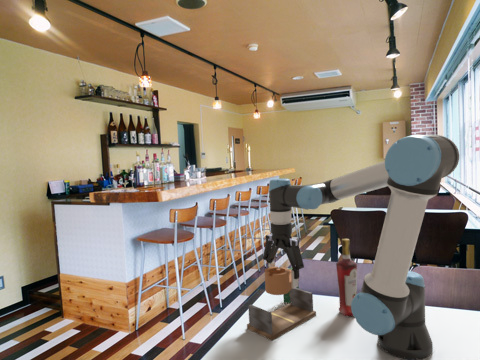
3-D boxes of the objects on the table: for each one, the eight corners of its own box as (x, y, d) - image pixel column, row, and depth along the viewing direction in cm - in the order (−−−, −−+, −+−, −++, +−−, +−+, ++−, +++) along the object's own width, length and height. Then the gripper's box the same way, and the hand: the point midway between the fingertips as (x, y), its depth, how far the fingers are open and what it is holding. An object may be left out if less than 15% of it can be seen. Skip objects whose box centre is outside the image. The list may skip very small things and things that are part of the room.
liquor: (347, 307, 135) (344, 236, 133) (363, 314, 129) (360, 239, 127) (334, 312, 131) (330, 239, 130) (349, 320, 125) (346, 243, 123)
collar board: (316, 315, 130) (315, 293, 130) (271, 340, 114) (270, 315, 114) (291, 306, 139) (290, 285, 139) (247, 328, 123) (245, 305, 123)
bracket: (284, 296, 115) (283, 276, 114) (261, 292, 119) (260, 272, 118) (301, 278, 131) (301, 260, 130) (280, 275, 135) (280, 257, 134)
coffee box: (294, 295, 149) (292, 265, 149) (299, 297, 147) (298, 266, 147) (283, 302, 143) (281, 271, 143) (289, 304, 141) (287, 272, 141)
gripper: (313, 224, 118) (315, 288, 119) (265, 217, 135) (267, 273, 136) (299, 228, 113) (301, 295, 114) (251, 220, 130) (254, 278, 131)
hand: (283, 283), depth 125 cm, fingers closed on bracket, 10 cm apart
